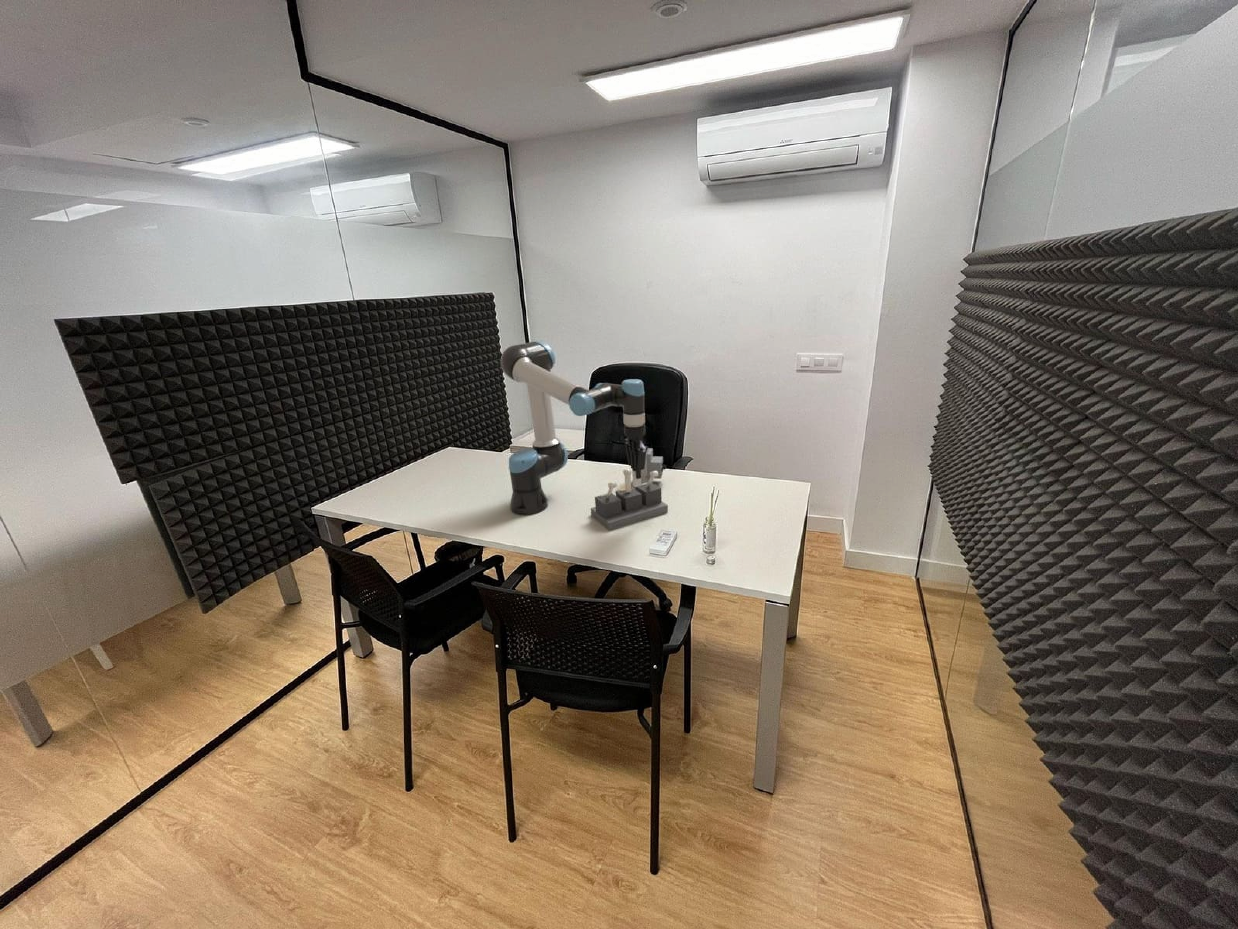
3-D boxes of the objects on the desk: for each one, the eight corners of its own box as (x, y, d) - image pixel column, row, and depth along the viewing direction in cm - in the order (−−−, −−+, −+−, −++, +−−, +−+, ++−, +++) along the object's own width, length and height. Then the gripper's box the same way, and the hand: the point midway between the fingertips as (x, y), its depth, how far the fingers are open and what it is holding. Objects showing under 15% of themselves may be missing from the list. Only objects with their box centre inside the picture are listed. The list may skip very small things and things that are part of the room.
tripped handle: (624, 491, 186) (623, 469, 182) (629, 489, 187) (628, 467, 183) (627, 493, 184) (625, 471, 181) (632, 491, 185) (631, 469, 182)
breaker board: (591, 515, 189) (588, 474, 183) (647, 498, 201) (646, 460, 194) (609, 530, 177) (606, 487, 171) (667, 512, 188) (667, 471, 182)
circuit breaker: (665, 486, 211) (664, 454, 206) (633, 485, 214) (631, 453, 209) (666, 480, 218) (666, 448, 213) (635, 479, 221) (634, 448, 216)
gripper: (653, 426, 166) (655, 489, 174) (634, 418, 176) (636, 477, 185) (634, 430, 162) (637, 494, 171) (616, 422, 173) (619, 482, 182)
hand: (637, 485), depth 178 cm, fingers closed
